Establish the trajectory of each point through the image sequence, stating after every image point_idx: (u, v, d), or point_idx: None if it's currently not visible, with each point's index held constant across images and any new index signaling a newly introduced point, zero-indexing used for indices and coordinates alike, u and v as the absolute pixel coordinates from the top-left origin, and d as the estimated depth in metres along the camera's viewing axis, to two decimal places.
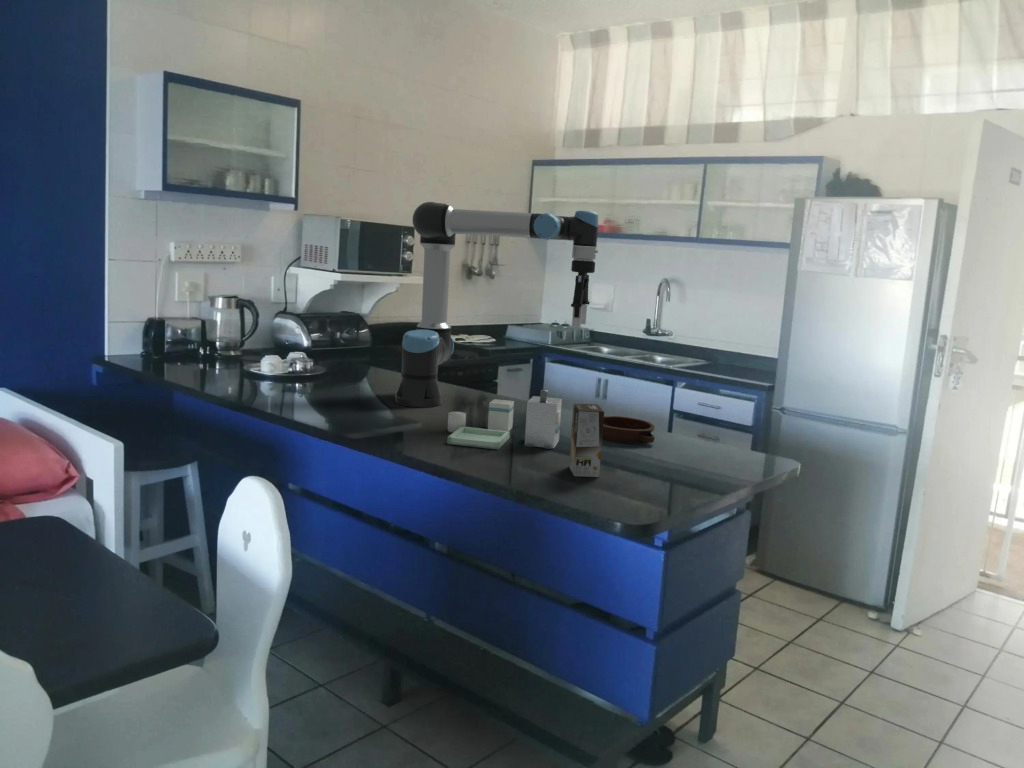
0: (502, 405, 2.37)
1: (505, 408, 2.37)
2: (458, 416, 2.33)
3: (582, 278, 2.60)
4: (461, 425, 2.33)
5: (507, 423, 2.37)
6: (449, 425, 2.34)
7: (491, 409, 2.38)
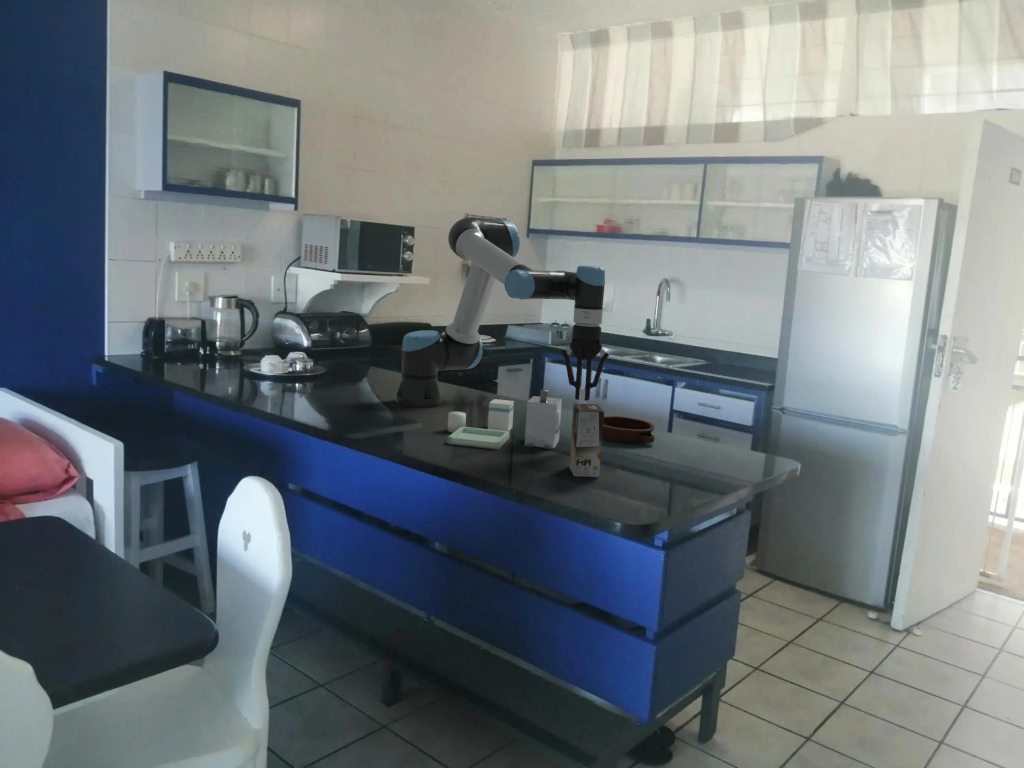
0: (502, 405, 2.37)
1: (505, 408, 2.37)
2: (458, 416, 2.33)
3: (562, 353, 2.21)
4: (461, 425, 2.33)
5: (507, 423, 2.37)
6: (449, 425, 2.34)
7: (491, 409, 2.38)
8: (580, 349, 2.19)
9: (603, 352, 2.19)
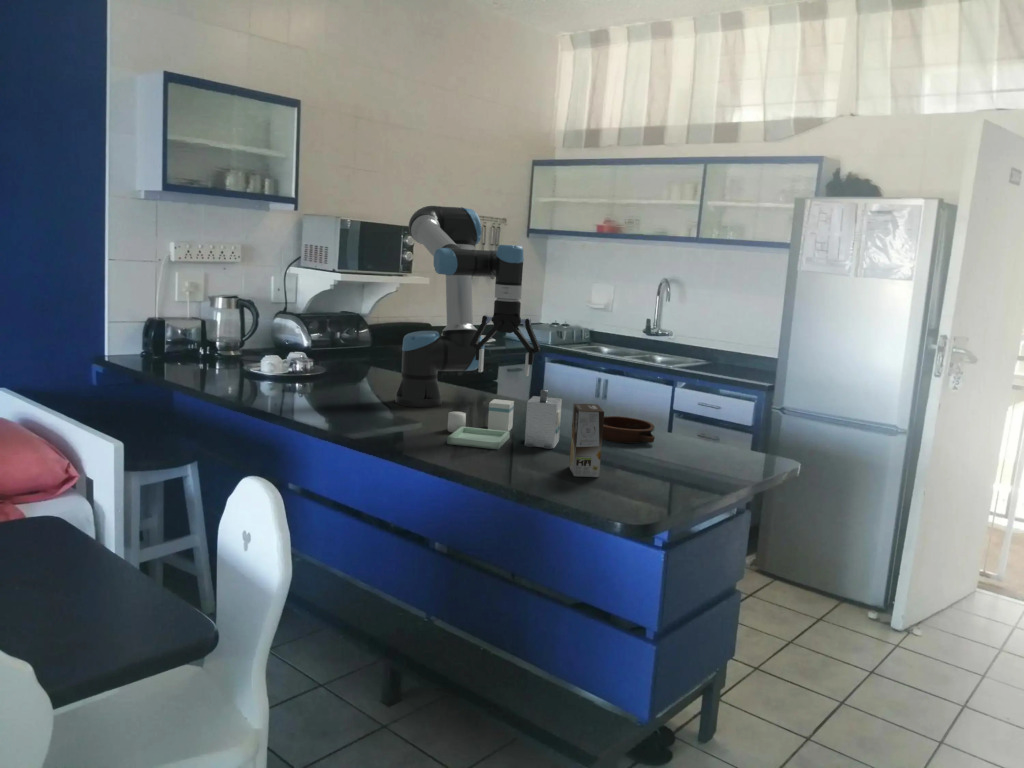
0: (502, 405, 2.37)
1: (505, 408, 2.37)
2: (458, 416, 2.33)
3: None
4: (461, 425, 2.33)
5: (507, 423, 2.37)
6: (449, 425, 2.34)
7: (491, 409, 2.38)
8: (500, 323, 2.34)
9: (524, 321, 2.34)
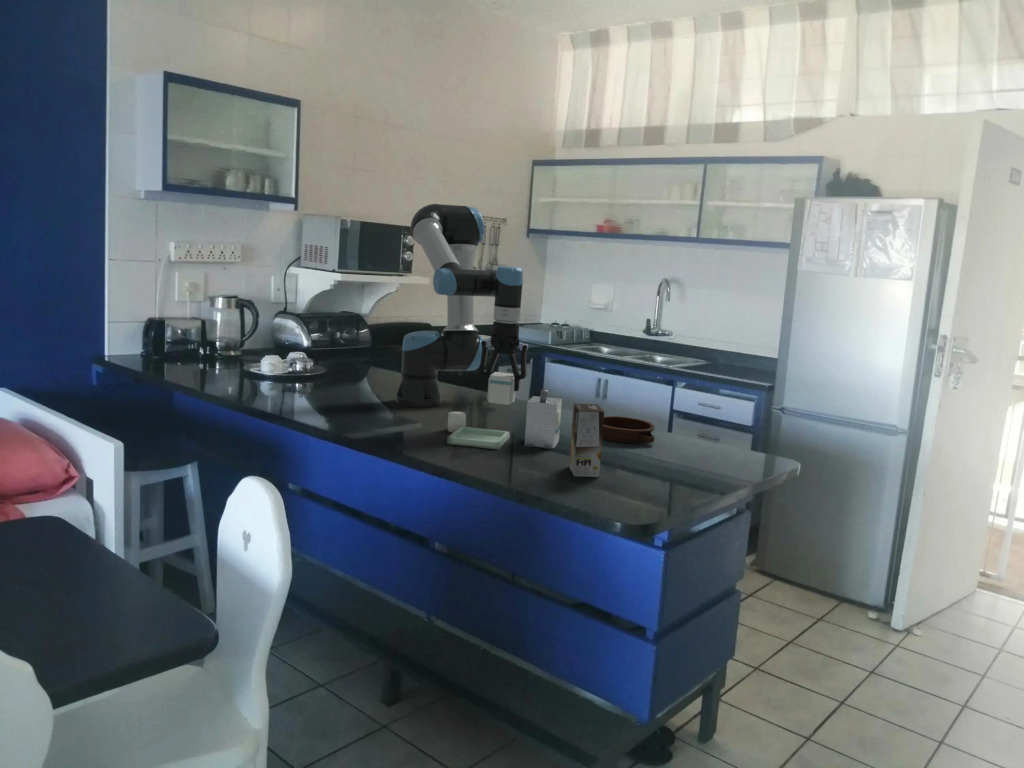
0: (503, 378, 2.36)
1: (506, 381, 2.36)
2: (458, 416, 2.33)
3: None
4: (461, 425, 2.33)
5: (508, 396, 2.37)
6: (449, 425, 2.34)
7: (492, 382, 2.37)
8: (499, 344, 2.35)
9: (522, 345, 2.36)
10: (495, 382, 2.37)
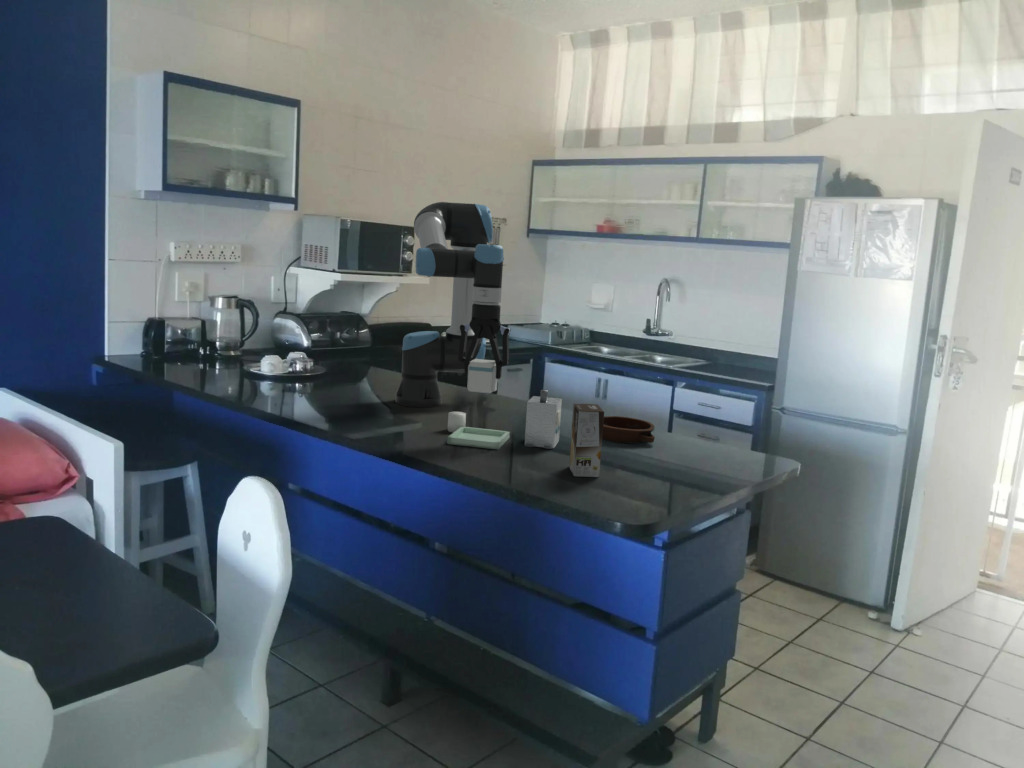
0: (484, 364, 2.18)
1: (487, 367, 2.18)
2: (458, 416, 2.33)
3: None
4: (461, 425, 2.33)
5: (489, 384, 2.19)
6: (449, 425, 2.34)
7: (472, 368, 2.19)
8: (479, 328, 2.18)
9: (503, 329, 2.18)
10: (475, 369, 2.19)
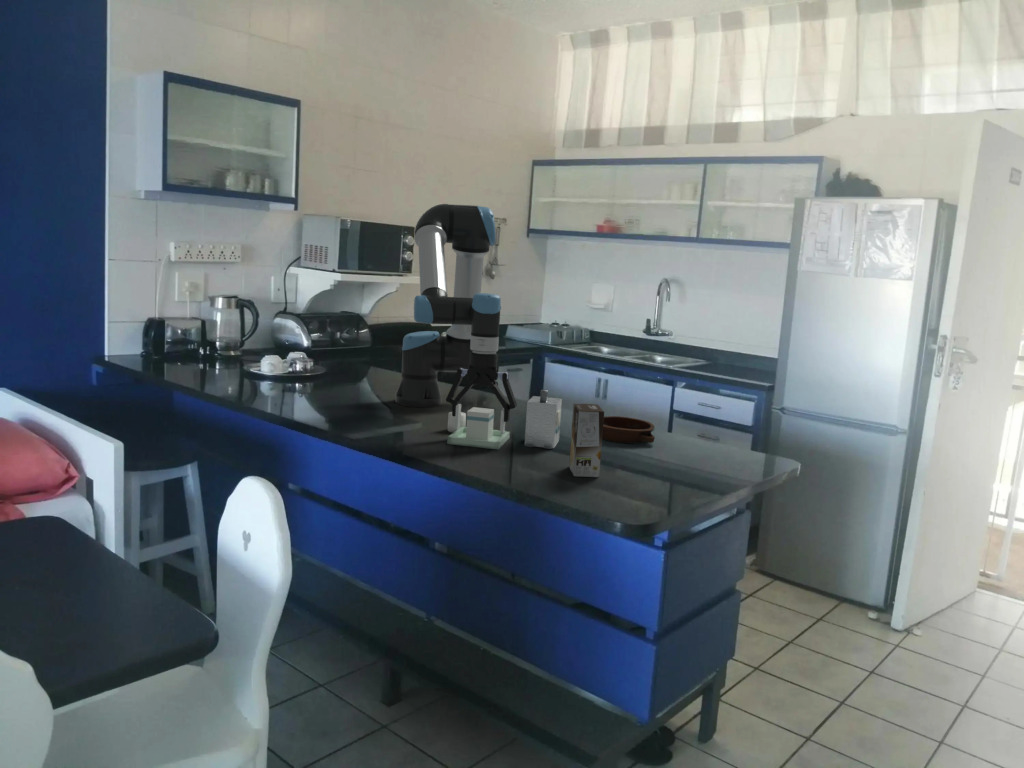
0: (481, 414, 2.21)
1: (484, 417, 2.21)
2: None
3: (457, 371, 2.23)
4: (461, 425, 2.33)
5: (486, 433, 2.21)
6: (449, 425, 2.34)
7: (469, 418, 2.22)
8: (476, 376, 2.21)
9: (501, 374, 2.21)
10: (472, 418, 2.21)
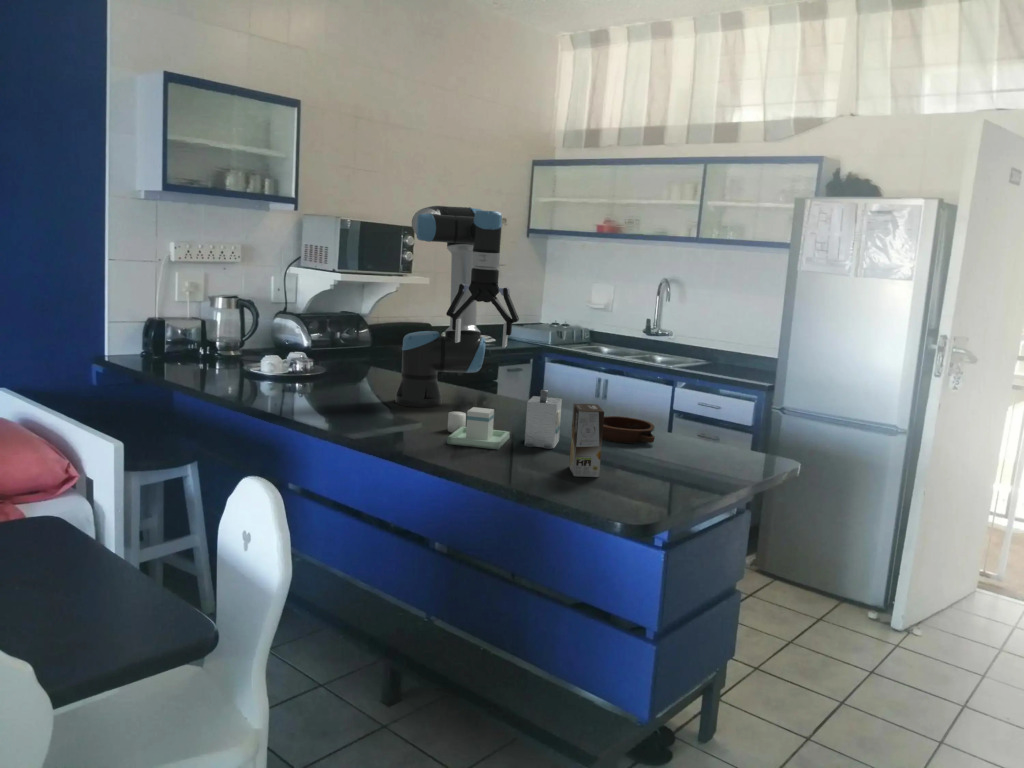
0: (481, 414, 2.21)
1: (484, 417, 2.21)
2: (458, 416, 2.33)
3: (459, 286, 2.29)
4: (461, 425, 2.33)
5: (486, 433, 2.21)
6: (449, 425, 2.34)
7: (469, 418, 2.22)
8: (477, 292, 2.27)
9: (502, 289, 2.27)
10: (472, 418, 2.21)
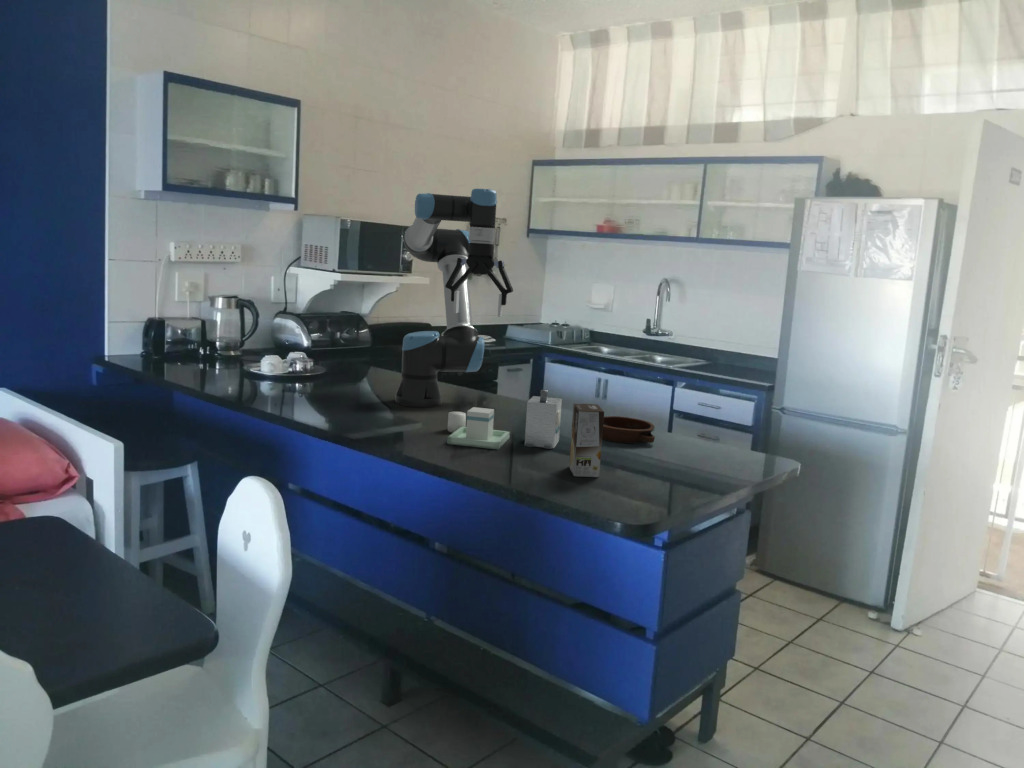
0: (481, 414, 2.21)
1: (484, 417, 2.21)
2: (458, 416, 2.33)
3: None
4: (461, 425, 2.33)
5: (486, 433, 2.21)
6: (449, 425, 2.34)
7: (469, 418, 2.22)
8: (474, 264, 2.43)
9: (497, 262, 2.43)
10: (472, 418, 2.21)
